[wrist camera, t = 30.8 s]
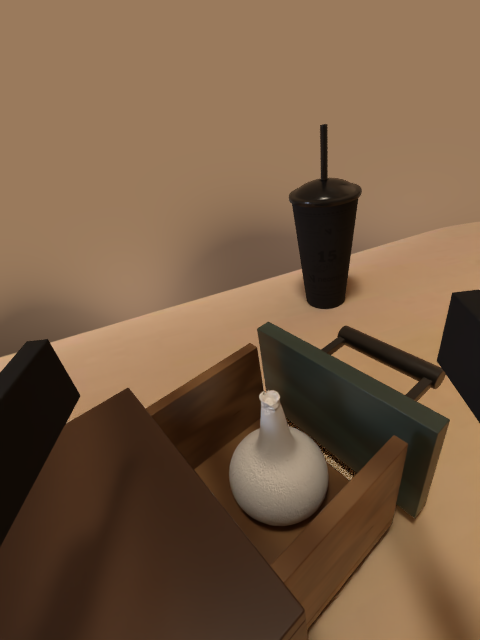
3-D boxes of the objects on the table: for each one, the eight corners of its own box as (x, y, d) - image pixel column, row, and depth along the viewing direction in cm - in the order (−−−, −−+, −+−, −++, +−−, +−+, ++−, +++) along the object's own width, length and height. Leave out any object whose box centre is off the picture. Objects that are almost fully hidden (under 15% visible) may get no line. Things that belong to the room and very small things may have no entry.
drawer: (323, 361, 34) (322, 288, 29) (471, 444, 25) (503, 356, 20) (117, 517, 24) (67, 444, 19) (234, 755, 15) (191, 723, 10)
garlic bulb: (233, 540, 21) (207, 462, 16) (233, 449, 26) (213, 371, 22) (339, 531, 20) (341, 448, 16) (317, 440, 26) (314, 359, 21)
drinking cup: (288, 290, 48) (276, 128, 37) (342, 280, 48) (346, 116, 37) (305, 320, 42) (296, 135, 31) (366, 308, 42) (380, 120, 31)
